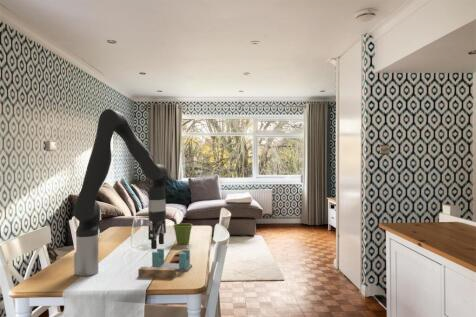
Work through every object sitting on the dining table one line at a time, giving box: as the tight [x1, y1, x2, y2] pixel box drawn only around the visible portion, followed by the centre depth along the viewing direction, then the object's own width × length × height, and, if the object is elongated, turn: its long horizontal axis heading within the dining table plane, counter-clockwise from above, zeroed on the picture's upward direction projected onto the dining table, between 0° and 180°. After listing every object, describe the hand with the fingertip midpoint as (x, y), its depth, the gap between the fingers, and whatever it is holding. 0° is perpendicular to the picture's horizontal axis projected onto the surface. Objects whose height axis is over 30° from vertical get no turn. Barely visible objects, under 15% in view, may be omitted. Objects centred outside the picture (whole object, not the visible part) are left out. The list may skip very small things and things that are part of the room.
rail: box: [137, 266, 177, 279], centre depth 159 cm, size 16×4×4 cm, turn 83°
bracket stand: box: [150, 248, 193, 272], centre depth 171 cm, size 18×8×8 cm, turn 81°
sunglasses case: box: [169, 248, 190, 264], centre depth 186 cm, size 18×7×7 cm, turn 2°
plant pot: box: [172, 222, 193, 246], centre depth 220 cm, size 12×12×11 cm
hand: (157, 246), depth 160 cm, fingers open, 8 cm apart
